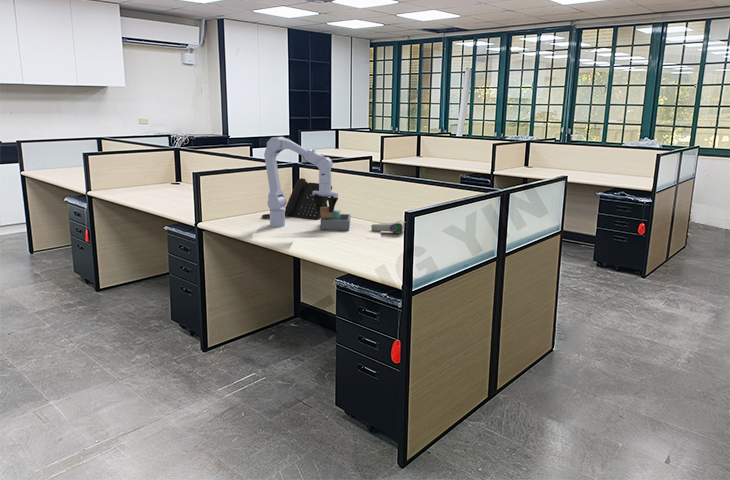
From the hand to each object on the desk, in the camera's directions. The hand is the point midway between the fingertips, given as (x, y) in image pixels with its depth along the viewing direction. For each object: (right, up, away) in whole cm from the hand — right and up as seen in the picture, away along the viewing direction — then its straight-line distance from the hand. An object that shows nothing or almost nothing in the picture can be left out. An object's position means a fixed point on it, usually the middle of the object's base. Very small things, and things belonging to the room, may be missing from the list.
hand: (325, 211), depth 263 cm
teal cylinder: (+4, -6, +9) cm, 12 cm away
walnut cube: (+1, -3, +1) cm, 3 cm away
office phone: (-18, -2, +34) cm, 38 cm away
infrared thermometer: (+23, -7, +3) cm, 25 cm away
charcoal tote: (+5, -7, +7) cm, 11 cm away
